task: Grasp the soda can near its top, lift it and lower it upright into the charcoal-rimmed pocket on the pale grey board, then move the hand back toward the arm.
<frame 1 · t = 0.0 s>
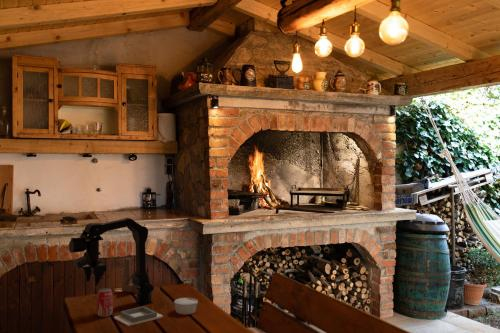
hand: (91, 283, 215), 15 cm above the table, fingers open, 9 cm apart
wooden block: (131, 291, 254), on the table
holder board: (138, 317, 212), on the table
soda can: (104, 315, 214), on the table
ramekin: (185, 312, 222), on the table
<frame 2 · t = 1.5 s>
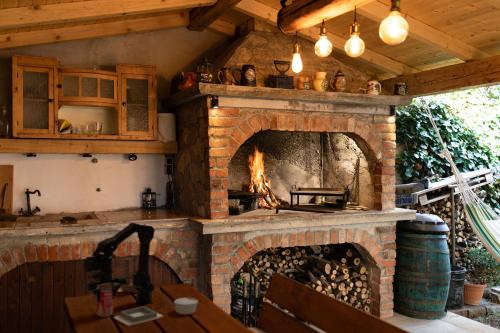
hand: (105, 301, 214), 7 cm above the table, fingers closed on soda can, 7 cm apart
soda can: (104, 315, 214), on the table, touching gripper
everything else where it was.
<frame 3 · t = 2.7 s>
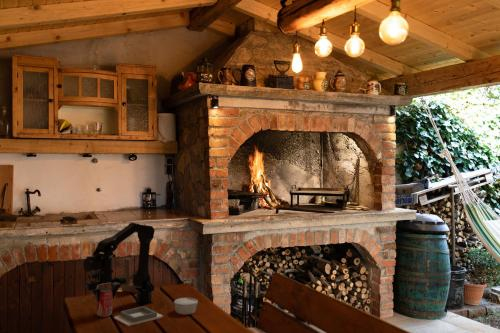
hand: (105, 300, 214), 7 cm above the table, fingers closed on soda can, 7 cm apart
soda can: (104, 315, 214), on the table, touching gripper
everything else where it was.
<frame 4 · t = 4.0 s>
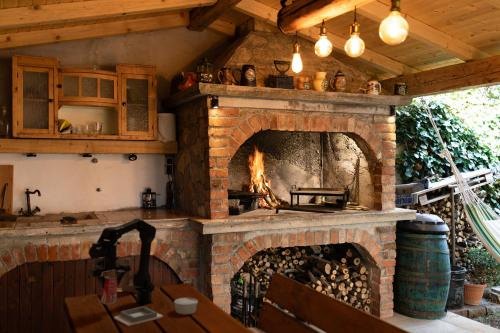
hand: (109, 288, 214), 13 cm above the table, fingers closed on soda can, 7 cm apart
soda can: (108, 303, 214), point 6 cm above the table, touching gripper
everything else where it was.
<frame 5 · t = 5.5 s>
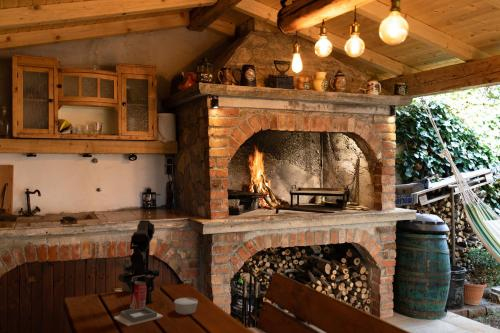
hand: (139, 293, 212), 11 cm above the table, fingers closed on soda can, 7 cm apart
soda can: (137, 309, 211), point 4 cm above the table, touching gripper
everything else where it was.
when the fingers open (9 cm above the table, at t = 6.5 s): soda can drops 1 cm, resting on holder board.
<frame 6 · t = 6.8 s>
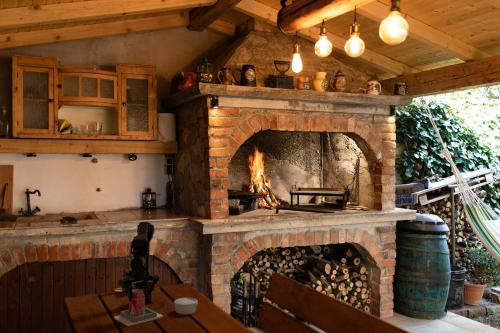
hand: (138, 299, 211), 9 cm above the table, fingers open, 9 cm apart
soda can: (136, 317, 211), point 1 cm above the table, touching holder board
everything else where it was.
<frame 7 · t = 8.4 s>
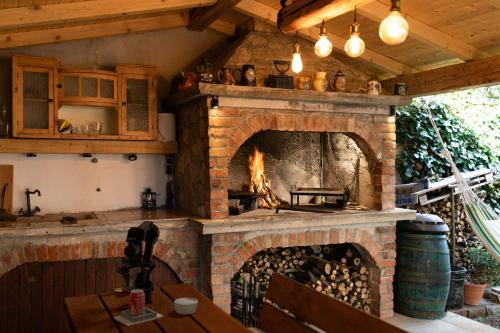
hand: (136, 285, 220), 13 cm above the table, fingers open, 9 cm apart
nothing on the table moved.
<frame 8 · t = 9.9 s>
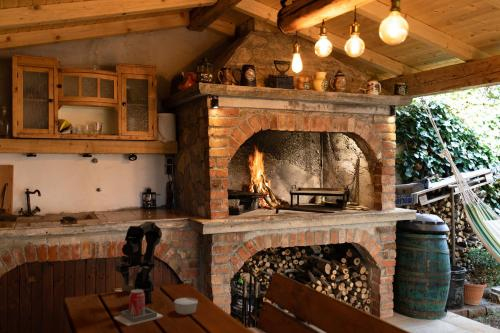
hand: (135, 283, 222), 13 cm above the table, fingers open, 9 cm apart
nothing on the table moved.
at the end: soda can 0.9 cm off-centre on the holder board, point 0.6 cm above the holder board's base; soda can tilted 0°; the gripper is holding nothing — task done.
